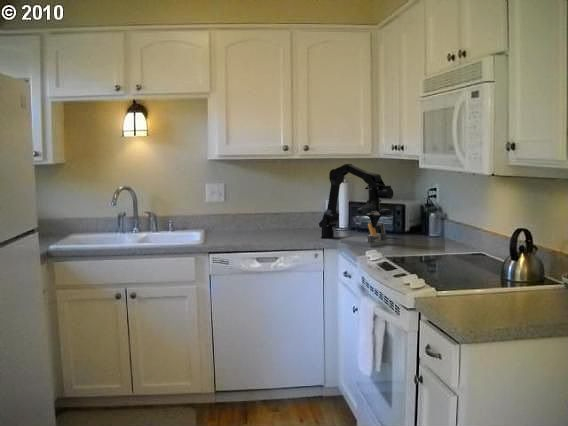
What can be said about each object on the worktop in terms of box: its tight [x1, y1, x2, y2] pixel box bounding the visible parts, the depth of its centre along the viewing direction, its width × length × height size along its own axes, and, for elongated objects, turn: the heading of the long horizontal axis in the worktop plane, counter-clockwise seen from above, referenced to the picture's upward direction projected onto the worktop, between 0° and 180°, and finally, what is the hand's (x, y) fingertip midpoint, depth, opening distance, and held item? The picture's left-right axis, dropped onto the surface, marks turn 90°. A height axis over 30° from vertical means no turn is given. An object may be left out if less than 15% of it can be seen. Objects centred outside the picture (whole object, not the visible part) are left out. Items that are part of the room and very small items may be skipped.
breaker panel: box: [340, 232, 389, 248], centre depth 301 cm, size 20×15×6 cm
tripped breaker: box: [367, 223, 378, 240], centre depth 296 cm, size 2×4×9 cm, turn 133°
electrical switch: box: [367, 220, 386, 235], centre depth 318 cm, size 9×5×9 cm, turn 57°
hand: (374, 227), depth 295 cm, fingers closed
